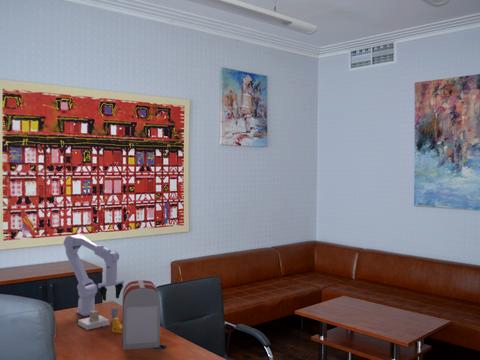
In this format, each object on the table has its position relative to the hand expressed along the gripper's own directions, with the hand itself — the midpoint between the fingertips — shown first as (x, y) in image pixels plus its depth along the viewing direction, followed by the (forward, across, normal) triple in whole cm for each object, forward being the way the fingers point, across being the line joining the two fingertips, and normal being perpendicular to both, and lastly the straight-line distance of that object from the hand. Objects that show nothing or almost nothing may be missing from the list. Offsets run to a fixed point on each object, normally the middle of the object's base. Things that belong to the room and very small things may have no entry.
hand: (110, 299), depth 256 cm
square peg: (+9, -13, -7) cm, 18 cm away
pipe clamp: (+10, -6, -26) cm, 29 cm away
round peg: (+9, -3, -10) cm, 14 cm away
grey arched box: (+10, -7, -42) cm, 44 cm away
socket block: (+9, -13, -7) cm, 18 cm away
